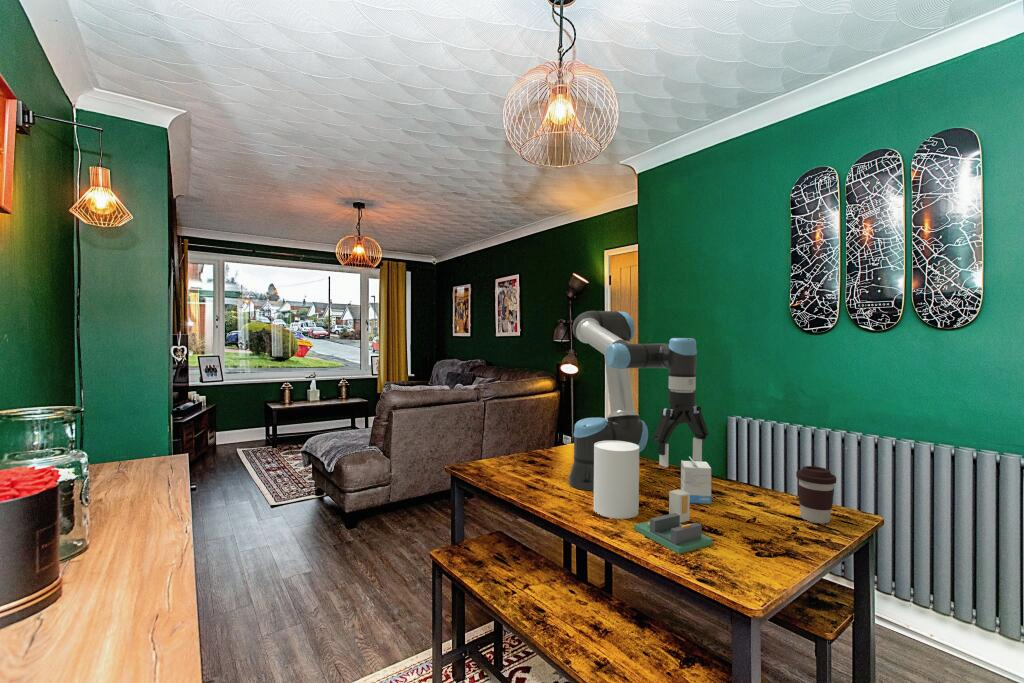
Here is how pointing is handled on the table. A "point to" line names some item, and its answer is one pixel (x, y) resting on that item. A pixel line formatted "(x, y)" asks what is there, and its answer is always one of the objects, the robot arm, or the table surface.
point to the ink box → (696, 480)
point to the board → (671, 546)
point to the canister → (616, 479)
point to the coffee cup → (815, 493)
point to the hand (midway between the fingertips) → (680, 463)
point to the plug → (680, 504)
